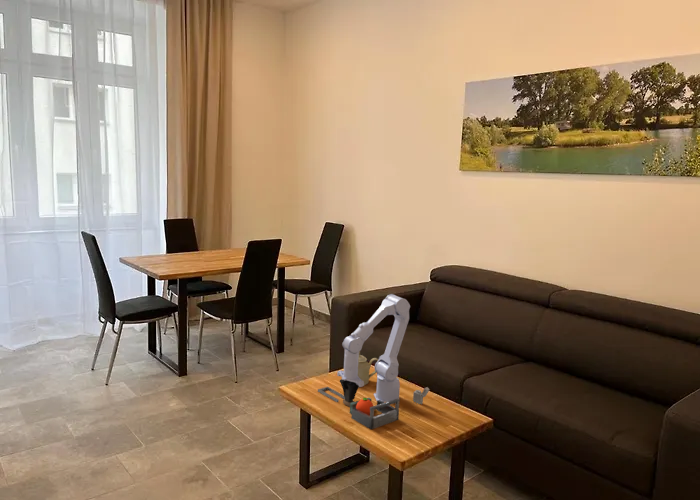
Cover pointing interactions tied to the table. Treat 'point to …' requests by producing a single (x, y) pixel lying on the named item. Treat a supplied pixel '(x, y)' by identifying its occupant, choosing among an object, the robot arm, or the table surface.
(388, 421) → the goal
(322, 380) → the table surface
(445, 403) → the table surface
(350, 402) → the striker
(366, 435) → the table surface
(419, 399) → the lighter
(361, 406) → the tomato
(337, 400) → the track
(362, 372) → the beige teapot
